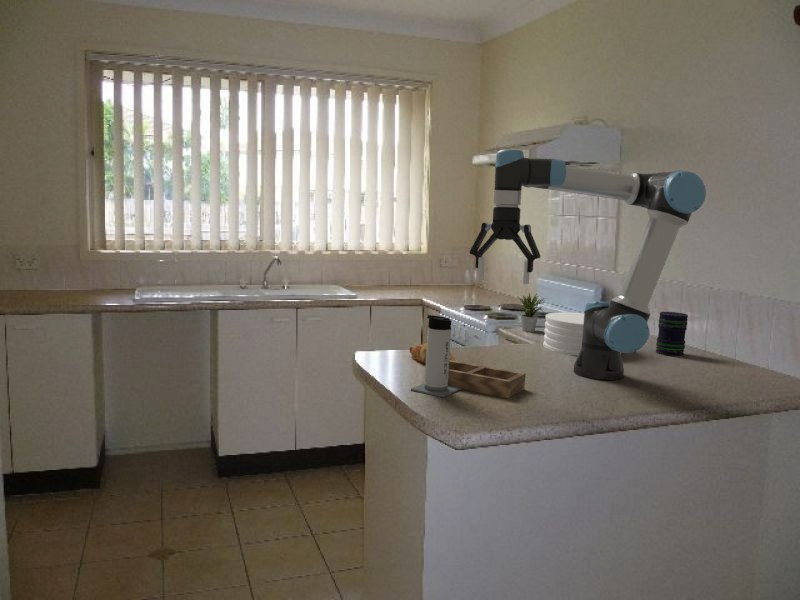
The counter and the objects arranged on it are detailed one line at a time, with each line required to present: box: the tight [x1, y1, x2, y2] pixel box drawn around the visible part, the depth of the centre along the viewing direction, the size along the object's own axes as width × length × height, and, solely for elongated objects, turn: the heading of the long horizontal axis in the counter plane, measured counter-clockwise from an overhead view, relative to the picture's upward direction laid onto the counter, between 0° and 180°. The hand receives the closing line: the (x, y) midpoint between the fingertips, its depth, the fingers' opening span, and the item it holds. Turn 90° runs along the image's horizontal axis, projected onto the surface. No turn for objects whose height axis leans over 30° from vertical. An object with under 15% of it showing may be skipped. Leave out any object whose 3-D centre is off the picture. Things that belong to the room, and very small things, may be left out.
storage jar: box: [655, 311, 689, 357], centre depth 258 cm, size 10×10×15 cm
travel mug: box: [424, 314, 452, 391], centre depth 189 cm, size 6×7×20 cm
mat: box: [410, 382, 462, 398], centre depth 190 cm, size 10×10×1 cm
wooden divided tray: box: [448, 360, 526, 399], centre depth 197 cm, size 25×12×4 cm, turn 59°
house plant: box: [515, 292, 547, 333], centre depth 289 cm, size 14×14×16 cm
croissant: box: [409, 341, 457, 365], centre depth 224 cm, size 21×10×8 cm, turn 41°
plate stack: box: [542, 311, 622, 357], centre depth 259 cm, size 28×28×12 cm
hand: (502, 281), depth 199 cm, fingers open, 13 cm apart
